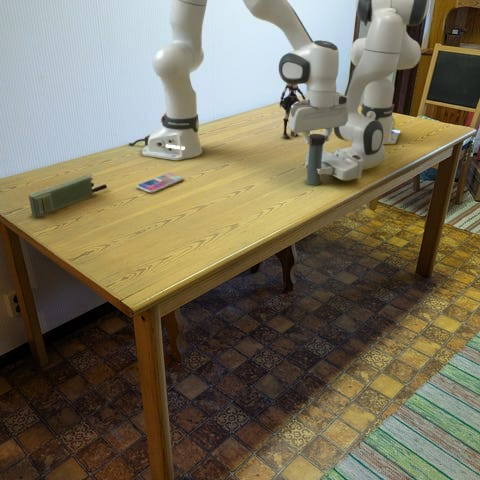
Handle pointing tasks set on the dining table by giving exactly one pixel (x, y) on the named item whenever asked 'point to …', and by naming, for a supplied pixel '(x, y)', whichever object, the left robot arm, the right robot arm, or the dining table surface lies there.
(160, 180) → the smartphone
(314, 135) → the lid
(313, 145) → the jar
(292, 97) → the figurine
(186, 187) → the dining table surface
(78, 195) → the handheld radio
